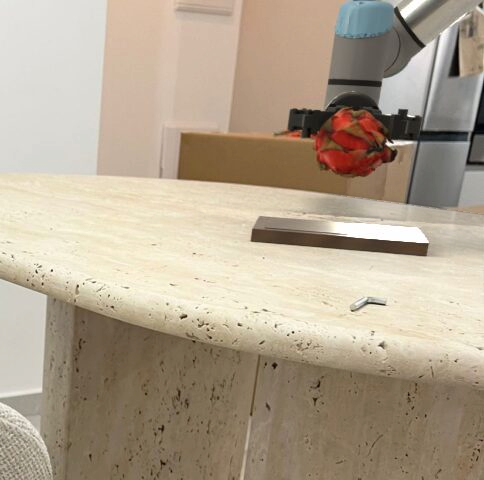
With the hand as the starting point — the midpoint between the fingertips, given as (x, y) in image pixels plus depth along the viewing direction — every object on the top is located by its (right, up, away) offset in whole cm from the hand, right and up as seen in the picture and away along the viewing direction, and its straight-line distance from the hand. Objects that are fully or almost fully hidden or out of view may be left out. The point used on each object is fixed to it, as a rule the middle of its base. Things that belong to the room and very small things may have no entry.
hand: (355, 124), depth 108 cm
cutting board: (+1, -11, +9) cm, 15 cm away
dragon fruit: (+1, -4, +6) cm, 8 cm away
